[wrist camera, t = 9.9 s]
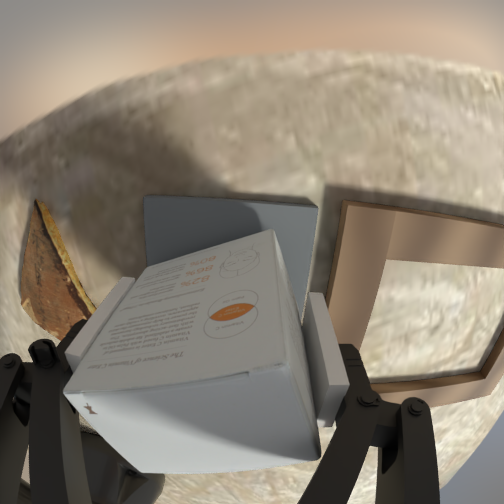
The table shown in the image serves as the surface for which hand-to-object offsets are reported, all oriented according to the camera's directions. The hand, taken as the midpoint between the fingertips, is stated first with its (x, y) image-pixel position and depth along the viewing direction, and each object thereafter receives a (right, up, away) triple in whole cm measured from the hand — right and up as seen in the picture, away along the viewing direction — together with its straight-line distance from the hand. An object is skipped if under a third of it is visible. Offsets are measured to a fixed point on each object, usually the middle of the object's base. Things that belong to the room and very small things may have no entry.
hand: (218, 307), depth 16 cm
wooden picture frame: (+17, -3, +4) cm, 18 cm away
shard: (-15, +1, +5) cm, 15 cm away
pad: (0, +1, +3) cm, 4 cm away
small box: (0, +1, +2) cm, 2 cm away
